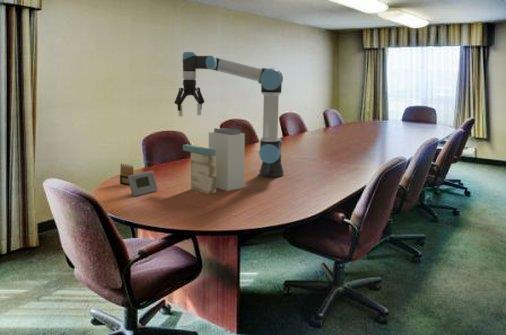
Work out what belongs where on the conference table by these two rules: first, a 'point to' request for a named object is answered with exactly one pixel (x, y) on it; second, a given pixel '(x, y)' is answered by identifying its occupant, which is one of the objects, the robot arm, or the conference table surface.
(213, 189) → the beige stone block
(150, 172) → the digital clock
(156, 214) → the conference table surface
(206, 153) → the rail
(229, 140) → the grey stand
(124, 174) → the ammunition clip
